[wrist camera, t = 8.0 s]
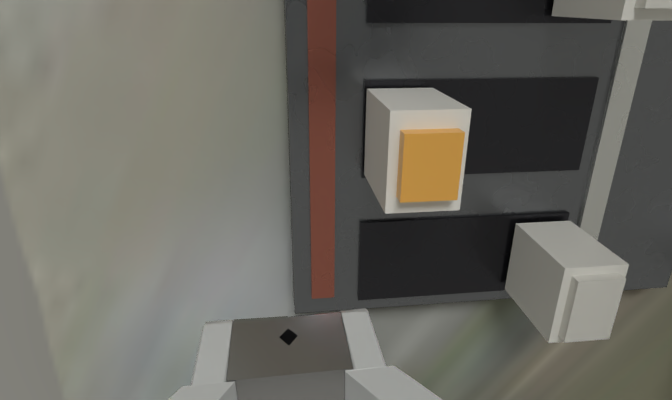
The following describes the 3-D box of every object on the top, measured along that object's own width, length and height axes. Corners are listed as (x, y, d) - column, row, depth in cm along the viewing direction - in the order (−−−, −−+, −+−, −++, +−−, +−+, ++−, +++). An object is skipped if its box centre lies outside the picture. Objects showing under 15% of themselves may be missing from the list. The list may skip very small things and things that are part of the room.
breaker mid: (366, 88, 21) (394, 114, 16) (432, 87, 21) (478, 112, 17) (363, 174, 22) (388, 220, 18) (425, 172, 23) (465, 216, 18)
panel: (280, -120, 19) (280, -130, 18) (762, -102, 22) (800, -110, 20) (293, 297, 27) (295, 315, 25) (648, 273, 30) (668, 289, 28)
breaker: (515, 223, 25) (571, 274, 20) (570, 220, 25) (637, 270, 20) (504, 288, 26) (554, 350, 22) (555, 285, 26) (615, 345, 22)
